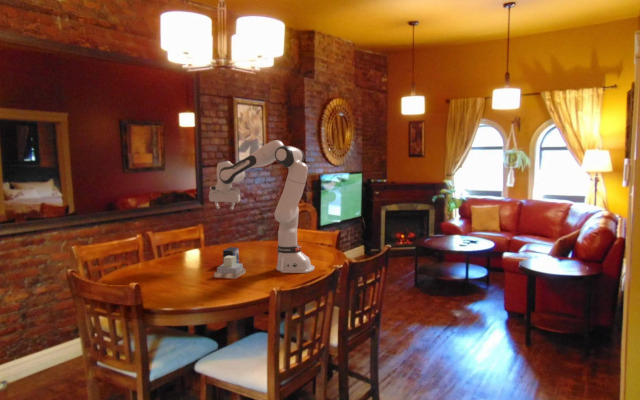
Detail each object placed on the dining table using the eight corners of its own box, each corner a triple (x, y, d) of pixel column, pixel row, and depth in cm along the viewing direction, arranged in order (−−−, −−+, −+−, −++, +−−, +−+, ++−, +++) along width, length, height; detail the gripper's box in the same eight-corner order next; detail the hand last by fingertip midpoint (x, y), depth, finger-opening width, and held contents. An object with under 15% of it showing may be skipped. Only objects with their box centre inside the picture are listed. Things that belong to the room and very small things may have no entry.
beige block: (236, 264, 260) (235, 256, 259) (231, 266, 255) (231, 258, 255) (228, 264, 261) (227, 255, 261) (223, 266, 257) (223, 257, 256)
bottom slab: (245, 273, 263) (245, 268, 263) (235, 279, 251) (235, 274, 251) (225, 272, 267) (224, 267, 267) (214, 278, 254) (214, 273, 254)
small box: (233, 267, 274) (232, 250, 273) (222, 267, 275) (222, 250, 274) (239, 263, 284) (239, 247, 283) (229, 263, 285) (229, 246, 284)
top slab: (242, 268, 263) (242, 263, 262) (236, 273, 252) (236, 268, 252) (224, 268, 265) (224, 262, 264) (217, 273, 254) (217, 267, 254)
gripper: (241, 187, 285) (242, 208, 287) (212, 186, 291) (213, 207, 292) (237, 187, 279) (238, 210, 281) (207, 187, 285) (208, 209, 286)
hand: (225, 209), depth 287 cm, fingers open, 8 cm apart
